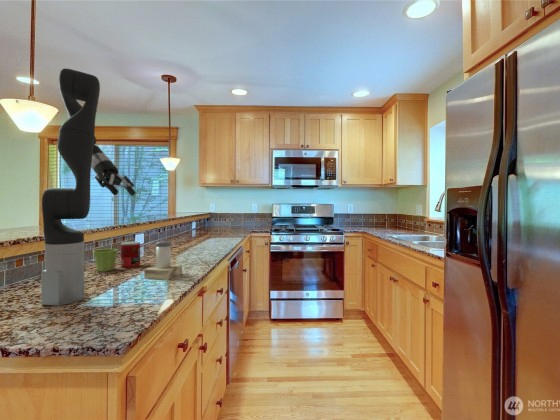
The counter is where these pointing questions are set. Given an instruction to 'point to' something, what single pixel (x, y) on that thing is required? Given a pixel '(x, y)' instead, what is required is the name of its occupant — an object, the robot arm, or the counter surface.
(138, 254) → the canned food
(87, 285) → the counter surface
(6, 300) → the counter surface
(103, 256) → the plant pot
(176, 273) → the maple base
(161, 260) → the spice jar
